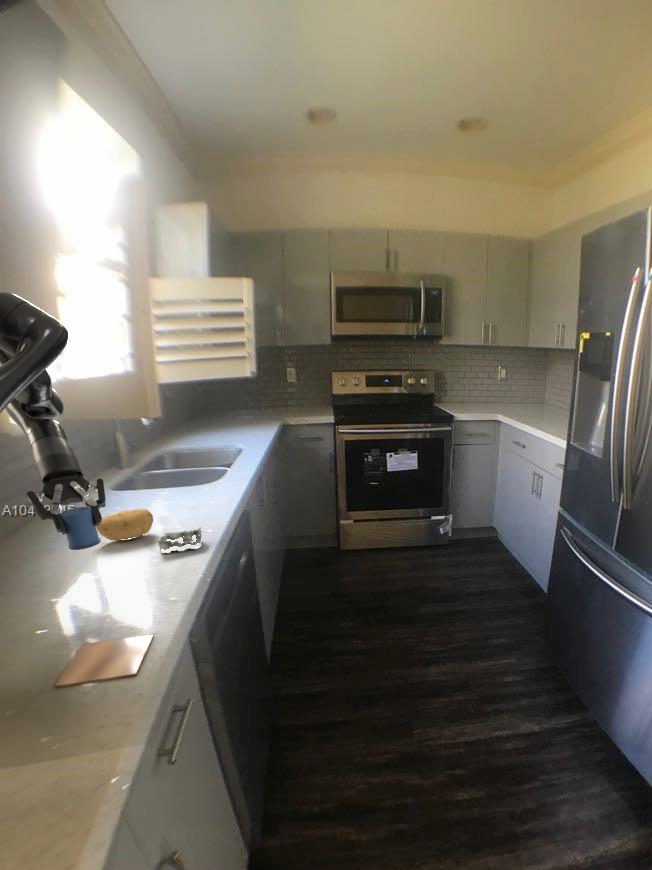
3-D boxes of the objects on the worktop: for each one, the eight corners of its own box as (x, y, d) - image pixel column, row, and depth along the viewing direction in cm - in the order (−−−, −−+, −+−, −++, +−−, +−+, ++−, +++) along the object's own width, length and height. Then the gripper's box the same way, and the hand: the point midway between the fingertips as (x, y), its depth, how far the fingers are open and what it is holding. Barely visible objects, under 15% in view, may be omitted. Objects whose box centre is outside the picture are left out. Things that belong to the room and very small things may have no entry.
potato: (101, 538, 130) (94, 512, 127) (155, 528, 136) (150, 503, 133) (99, 551, 122) (92, 523, 119) (157, 539, 127) (151, 513, 125)
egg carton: (158, 556, 118) (154, 541, 116) (163, 544, 124) (160, 530, 123) (202, 550, 120) (199, 535, 119) (204, 539, 127) (202, 525, 125)
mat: (54, 687, 72) (54, 685, 72) (82, 646, 82) (82, 644, 82) (136, 675, 74) (135, 673, 74) (153, 636, 85) (153, 634, 84)
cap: (63, 551, 93) (53, 517, 91) (76, 541, 99) (66, 508, 96) (94, 548, 94) (85, 513, 92) (105, 537, 100) (96, 505, 97)
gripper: (12, 458, 91) (36, 529, 87) (93, 446, 100) (120, 510, 95) (18, 479, 97) (41, 547, 92) (95, 466, 106) (120, 527, 101)
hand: (81, 527), depth 94 cm, fingers closed on cap, 5 cm apart
